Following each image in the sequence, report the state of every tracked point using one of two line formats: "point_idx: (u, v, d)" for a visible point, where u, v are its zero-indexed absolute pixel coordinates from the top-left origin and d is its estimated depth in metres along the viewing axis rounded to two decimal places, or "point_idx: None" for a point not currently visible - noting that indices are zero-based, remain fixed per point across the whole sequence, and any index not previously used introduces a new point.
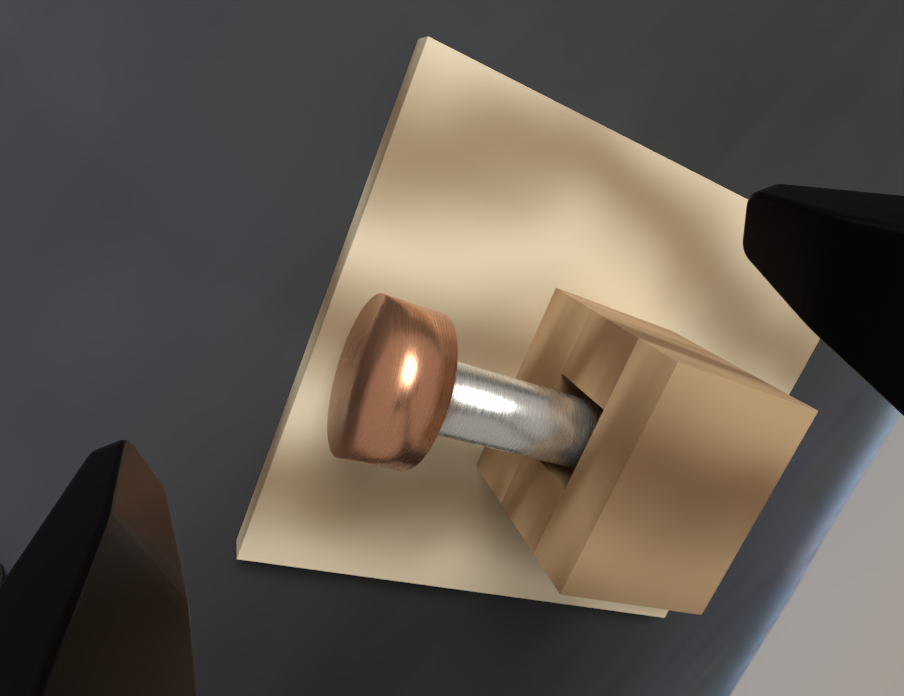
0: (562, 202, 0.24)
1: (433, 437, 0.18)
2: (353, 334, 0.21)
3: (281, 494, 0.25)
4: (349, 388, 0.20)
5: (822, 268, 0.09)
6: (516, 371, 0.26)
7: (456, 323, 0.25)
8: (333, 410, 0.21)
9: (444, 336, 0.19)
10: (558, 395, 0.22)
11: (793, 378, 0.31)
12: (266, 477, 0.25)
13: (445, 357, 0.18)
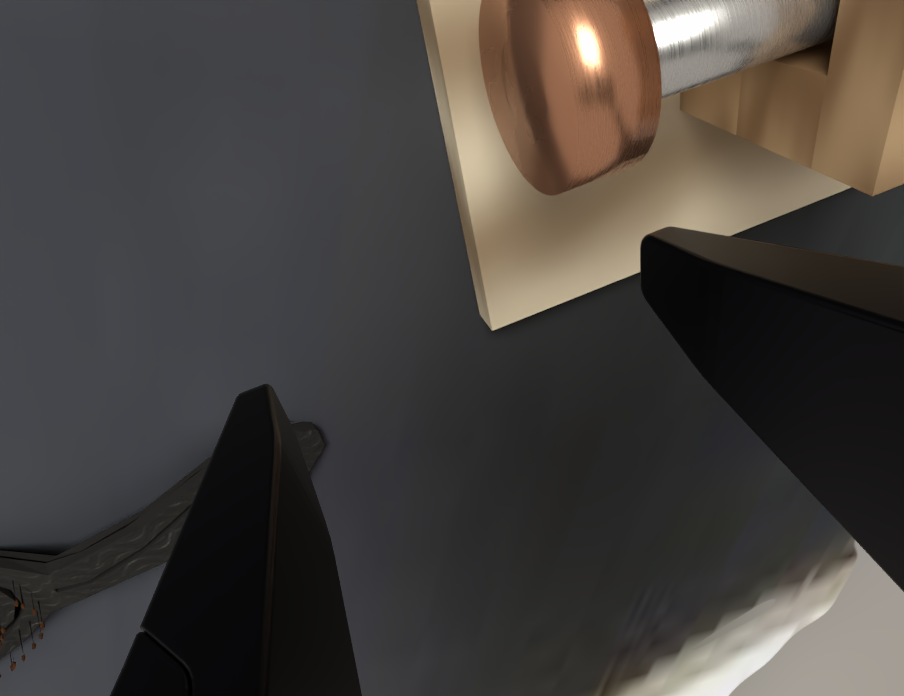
0: None
1: (656, 110, 0.14)
2: (486, 47, 0.17)
3: (498, 255, 0.23)
4: (521, 113, 0.16)
5: (707, 317, 0.08)
6: None
7: None
8: (514, 147, 0.17)
9: None
10: None
11: None
12: (476, 248, 0.23)
13: (625, 2, 0.13)
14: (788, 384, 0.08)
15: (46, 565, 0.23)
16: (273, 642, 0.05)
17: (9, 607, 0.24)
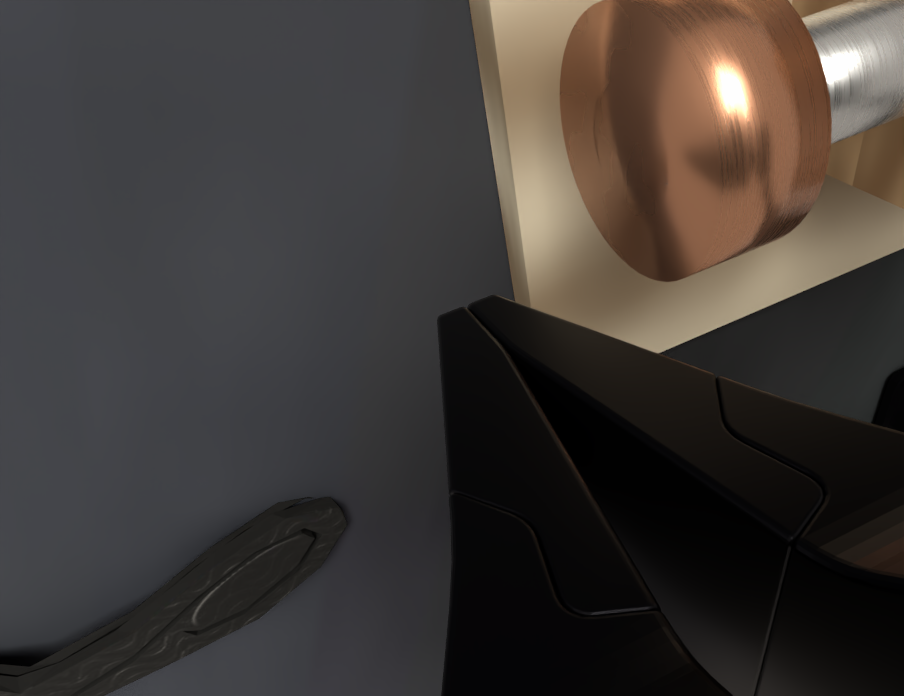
0: None
1: (818, 184, 0.11)
2: (571, 90, 0.13)
3: None
4: (621, 177, 0.12)
5: None
6: None
7: None
8: (602, 213, 0.14)
9: (766, 8, 0.10)
10: None
11: None
12: None
13: (790, 44, 0.10)
14: (583, 477, 0.07)
15: (18, 680, 0.19)
16: None
17: None
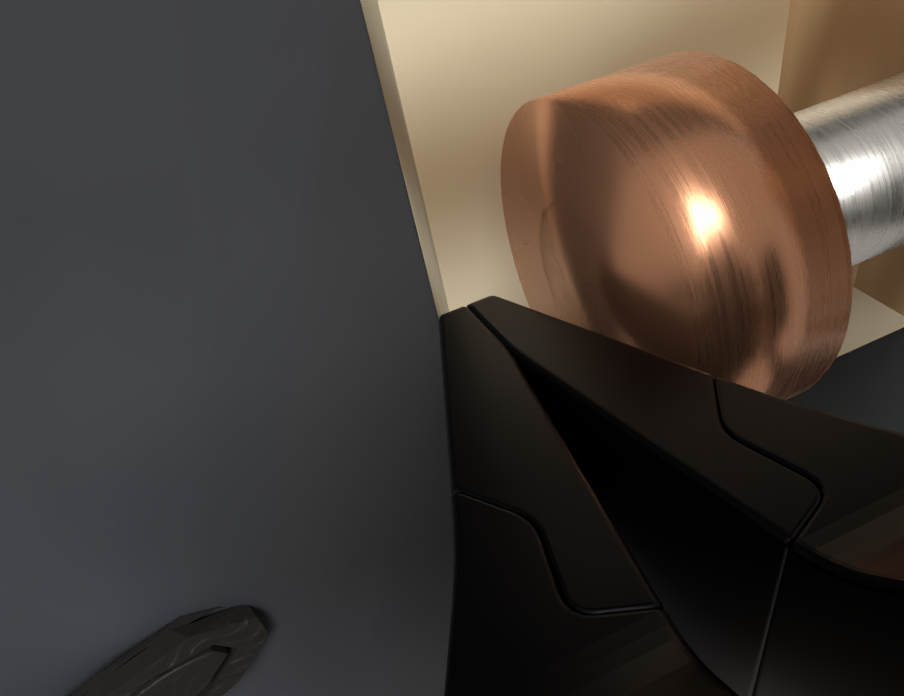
0: None
1: (832, 354, 0.08)
2: (513, 192, 0.10)
3: None
4: (574, 311, 0.10)
5: None
6: (781, 45, 0.13)
7: (643, 32, 0.12)
8: None
9: (762, 125, 0.07)
10: None
11: None
12: None
13: (795, 178, 0.07)
14: None
15: None
16: None
17: None
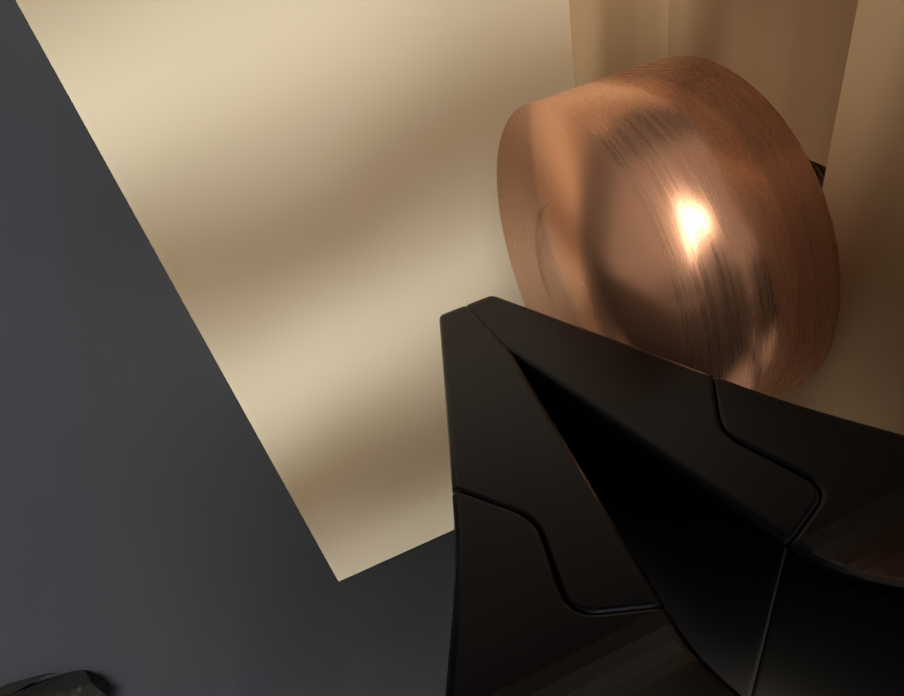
0: None
1: (822, 354, 0.08)
2: (509, 195, 0.10)
3: (330, 501, 0.16)
4: (569, 311, 0.10)
5: None
6: None
7: (403, 113, 0.11)
8: None
9: (751, 129, 0.07)
10: None
11: None
12: (293, 497, 0.16)
13: (784, 181, 0.07)
14: None
15: None
16: None
17: None
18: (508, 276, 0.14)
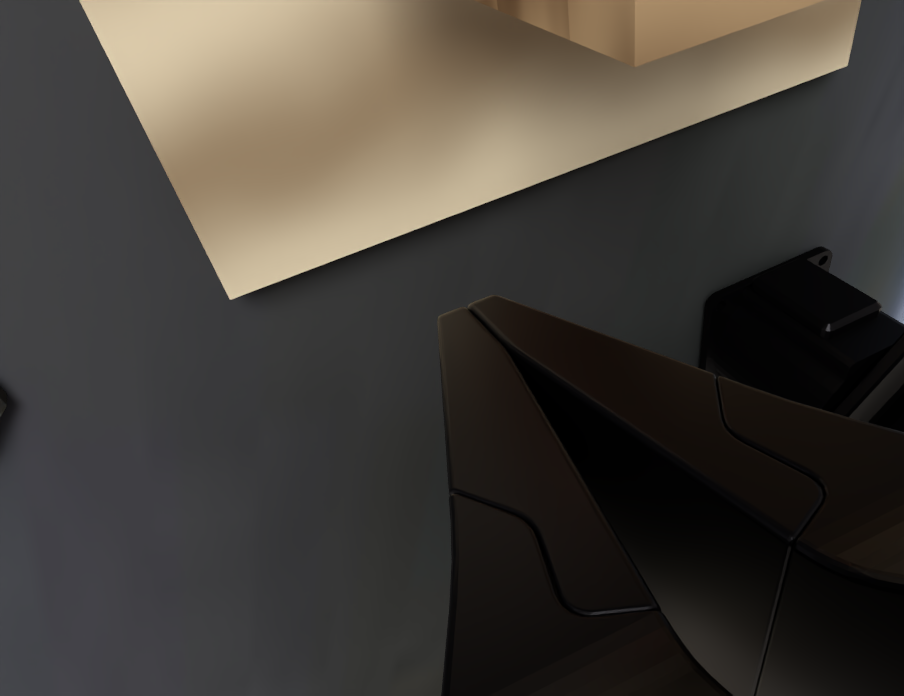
0: None
1: None
2: None
3: (210, 194, 0.17)
4: None
5: None
6: None
7: None
8: None
9: None
10: None
11: None
12: (172, 183, 0.16)
13: None
14: (583, 477, 0.07)
15: None
16: None
17: None
18: None
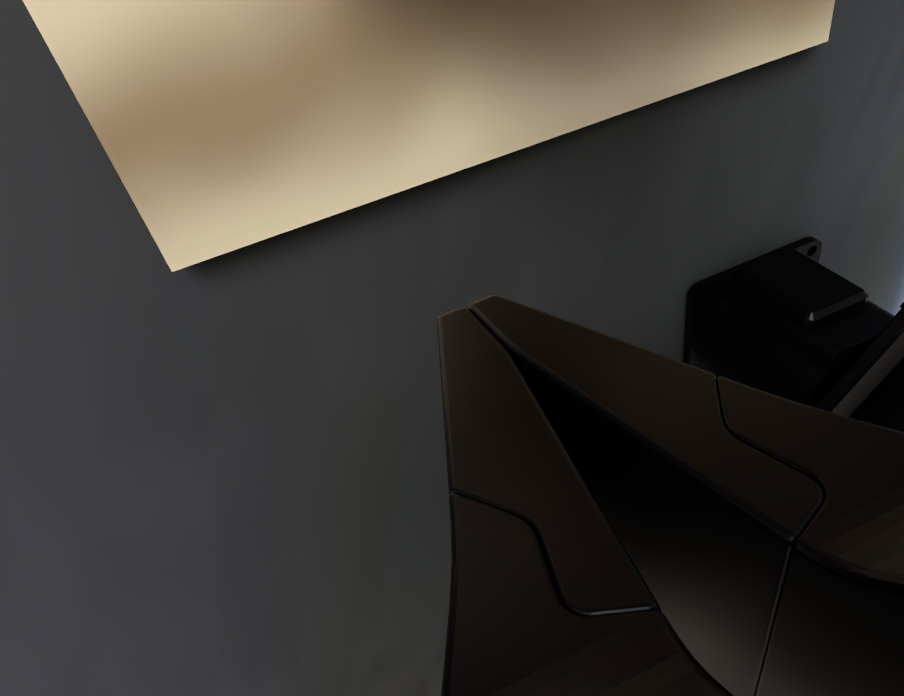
0: None
1: None
2: None
3: (145, 158, 0.16)
4: None
5: None
6: None
7: None
8: None
9: None
10: None
11: None
12: (104, 146, 0.16)
13: None
14: (583, 477, 0.07)
15: None
16: None
17: None
18: None
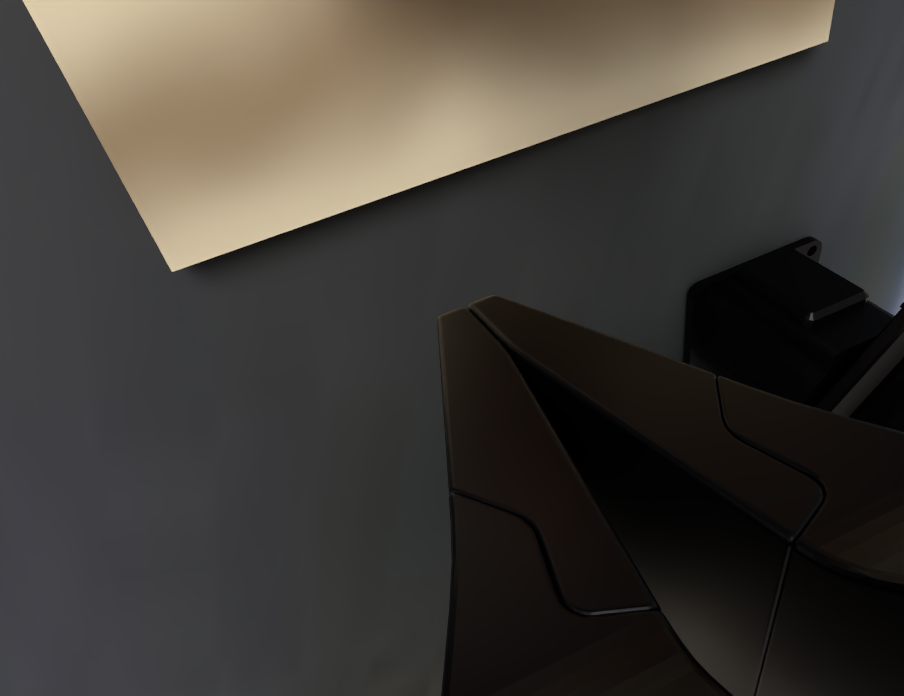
0: None
1: None
2: None
3: (145, 158, 0.16)
4: None
5: None
6: None
7: None
8: None
9: None
10: None
11: None
12: (104, 146, 0.16)
13: None
14: (583, 477, 0.07)
15: None
16: None
17: None
18: None
